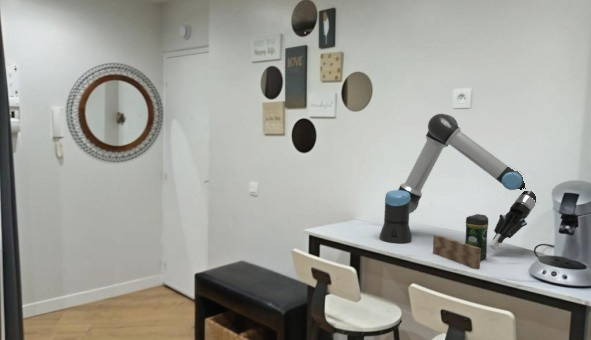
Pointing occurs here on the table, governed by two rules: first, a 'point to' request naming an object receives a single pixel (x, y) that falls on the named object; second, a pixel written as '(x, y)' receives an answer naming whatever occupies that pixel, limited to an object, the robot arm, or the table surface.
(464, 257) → the board
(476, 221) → the coffee jar
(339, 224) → the table surface
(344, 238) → the table surface
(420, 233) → the table surface
